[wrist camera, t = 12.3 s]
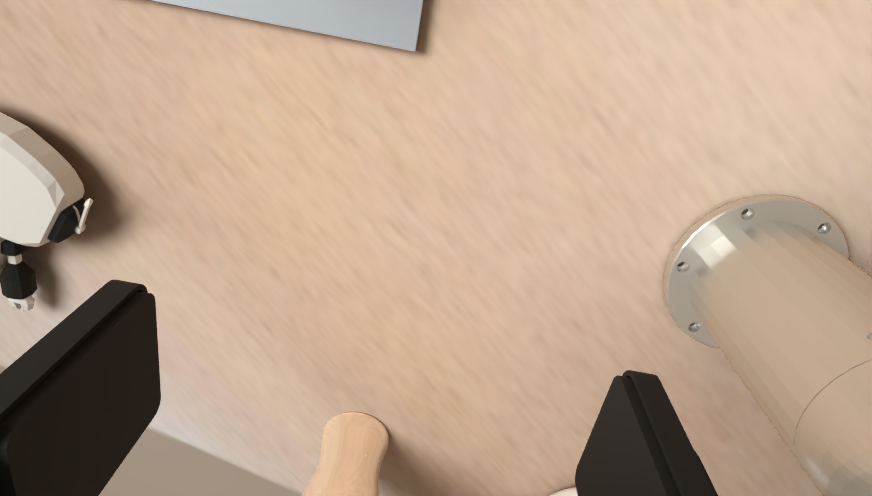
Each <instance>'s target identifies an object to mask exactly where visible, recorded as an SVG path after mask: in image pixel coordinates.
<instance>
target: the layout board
mask: <svg viewBox="0 0 872 496" xmlns="http://www.w3.org/2000/svg"><path fill="white" fill-rule="evenodd" d="M153 1H158V2H163V3H168V4H173V5H178V6H183V7H188V8H194V9H199V10H204V11H209V12H214V13H219V14H224V15H229V16H235V17H240V18H245V19H250V20H255V21H260V22H265V23H270V24H275V25H281V26H286V27H291V28H296V29H301V30H306V31H311V32H316V33H322V34H327V35H332V36H337V37H342V38H347V39H352V40H357V41H362V42H368V43H373V44H378V45H383V46H388V47H393V48H398V49H403V50H409V51H414V52H415V51H416V48H417V41H418V35H419V28H420V22H421V15H422V9H423V2H424V0H153Z"/></svg>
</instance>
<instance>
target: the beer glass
mask: <svg viewBox="0 0 872 496" xmlns="http://www.w3.org/2000/svg"><path fill="white" fill-rule="evenodd" d="M388 445H389V435H388V432H387V430H386V428H385V427H384V425H383V424H382V423H381V422H380V421H378V420H377V419H375V418H374V417H372V416H370V415H367V414H364V413H359V412H346V413H342V414H339V415H336V416H334V417H333V418H331V419H330V420H329V421H328V422H327V424H326V425H325V427H324V429H323V433H322V443H321V454H320V458H319V461H318V464H317V467H316V469H315V471H314V473H313V475H312V477H311V478H310V480H309V482H308V484H307V486H306V487H305V489H304V491H303V493H302V495H301V496H379V472H380V467H381V464H382V461H383V459H384V457H385V454H386V452H387V449H388Z"/></svg>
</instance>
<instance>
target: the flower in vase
mask: <svg viewBox="0 0 872 496" xmlns="http://www.w3.org/2000/svg"><path fill="white" fill-rule="evenodd" d="M549 496H578V494H577V490H576V487H573V488H567V489H564V490H560V491H558V492H555V493H553V494H551V495H549Z"/></svg>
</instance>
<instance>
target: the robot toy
mask: <svg viewBox="0 0 872 496" xmlns="http://www.w3.org/2000/svg"><path fill="white" fill-rule="evenodd" d="M84 192H85V190H84V187H83V183H82V181H81V180H80V178H79V176H78V175H77V173H76V171H75V170H74V168H73V167H72V166H71V165H70V164H69V163H68V161H66V160H65V159H64V158H63V157H62V156H61V155H60V154H59V153H58V152H57V151H56V150H55V149H54V148H53V147H52V146H51V145H49V144H48V143H47V142H46V141H45V140H43V139H42V138H41V137H40V136H39V135H38V134H36V133H35V132H34V131H33V130H32V129H30V128H29V127H28V126H26V125H24V124H22V123H20V122H18V121H16V120H14V119H13V118H11V117H9V116H7V115H5V114H3V113H1V112H0V268H2V267H3V266H5V265H6V264H7V265H6V266H5V268H4V269H3V271H2V273H1V275H0V283H1V288H2V294H3V295H4V296H6V297H7V298H9V299H8V301H9V303H10V305H11V306H12V307H14V308H16V309H20V308H21V307H22V310H24V311H28V310H30V309H33V306H34V301H35V299H34V298H33V297H32V296H31V295H33V293H34V292H35V291H36V289H37V284H36V277H35V271H34V270H33V269H32V268H31V267H30V266H29V265H28V264H26V263H25V262H24V261H23V260H22V255H21V254H22V253H24V252H25V250H26V249H27V246H33V247H39V246H41V245H43V244H46V243H48V242H50V241H53V242H56V243H59V242H61V241H63V240H65V239H66V238H68V237H70V236H71V235H73V234H74V233H75V232H76V233H78V234H80V233H81V232H83V231H84V230H85V227H86V225H85V224H84V223H85V220H86V217H87V214H88V211H89V208H90V206H91V205H92V203H93V200H92V199H91V198H89V199H88V200H87V201H86V202H85V201H84V199H83V198H82V197H83V195H84Z"/></svg>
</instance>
